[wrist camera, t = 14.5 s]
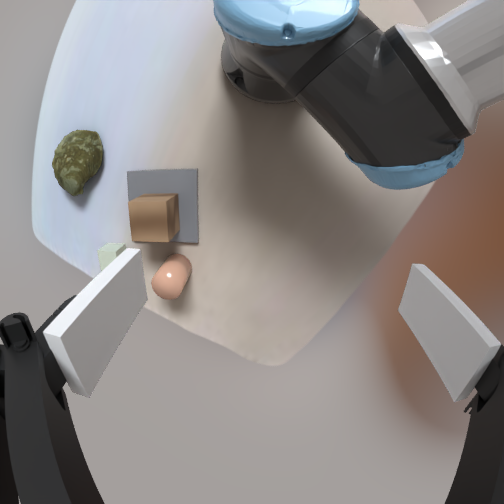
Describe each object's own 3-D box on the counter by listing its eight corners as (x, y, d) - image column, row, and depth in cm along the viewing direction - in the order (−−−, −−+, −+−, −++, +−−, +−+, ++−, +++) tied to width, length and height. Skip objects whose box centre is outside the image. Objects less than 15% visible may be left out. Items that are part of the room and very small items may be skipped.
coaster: (129, 171, 41) (127, 171, 41) (197, 168, 41) (196, 169, 40) (134, 238, 46) (132, 240, 45) (198, 240, 46) (197, 242, 45)
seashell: (97, 122, 36) (76, 172, 33) (116, 147, 43) (100, 195, 40) (57, 134, 37) (36, 181, 34) (77, 156, 44) (60, 200, 41)
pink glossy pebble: (163, 252, 47) (149, 270, 40) (191, 254, 47) (180, 272, 40) (166, 278, 49) (153, 298, 42) (192, 280, 49) (183, 301, 42)
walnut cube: (144, 193, 42) (128, 201, 36) (178, 193, 42) (166, 201, 36) (146, 228, 44) (132, 241, 39) (179, 229, 44) (168, 242, 39)
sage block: (107, 242, 46) (97, 250, 43) (125, 243, 46) (115, 251, 43) (110, 262, 48) (101, 271, 44) (128, 263, 48) (119, 273, 44)
